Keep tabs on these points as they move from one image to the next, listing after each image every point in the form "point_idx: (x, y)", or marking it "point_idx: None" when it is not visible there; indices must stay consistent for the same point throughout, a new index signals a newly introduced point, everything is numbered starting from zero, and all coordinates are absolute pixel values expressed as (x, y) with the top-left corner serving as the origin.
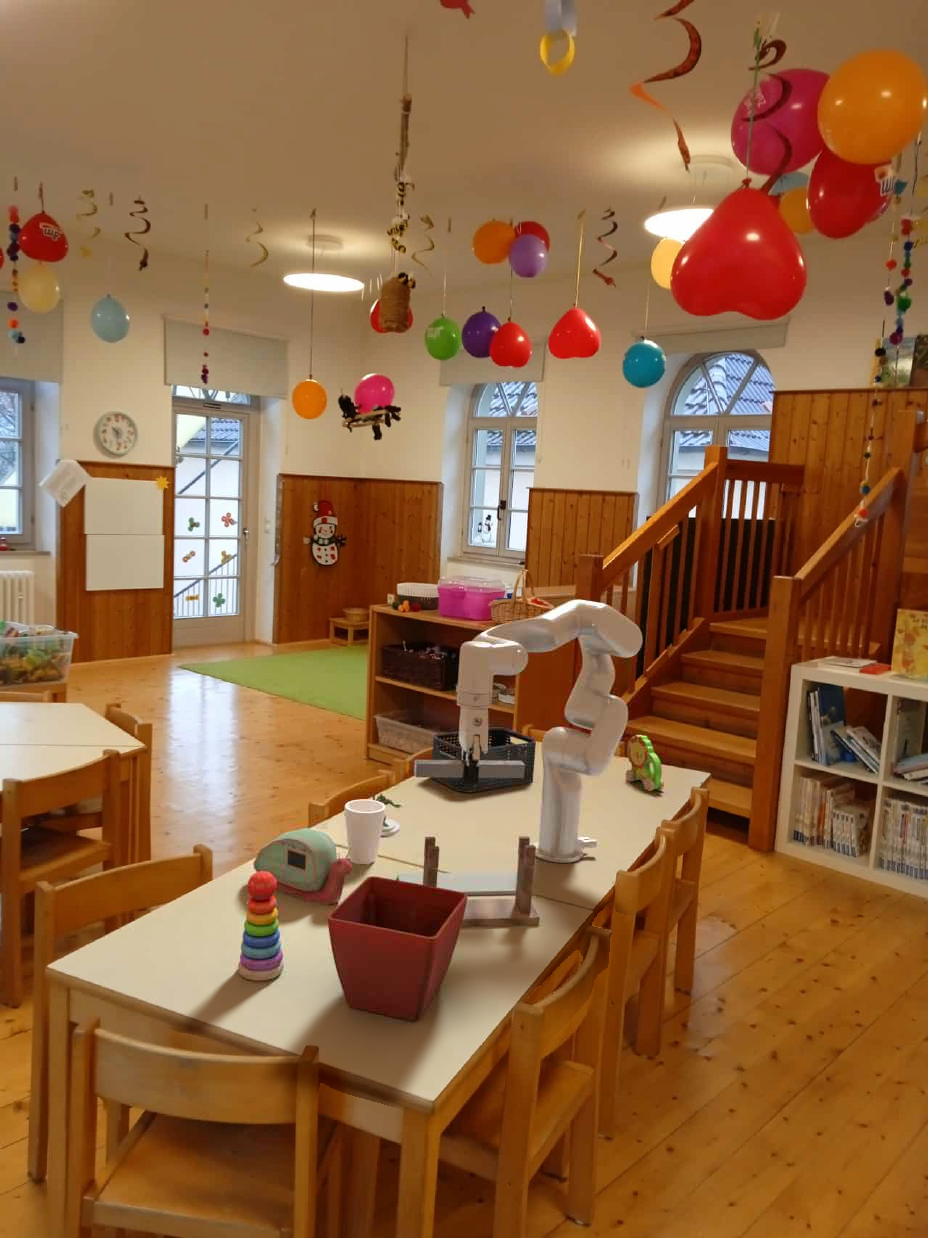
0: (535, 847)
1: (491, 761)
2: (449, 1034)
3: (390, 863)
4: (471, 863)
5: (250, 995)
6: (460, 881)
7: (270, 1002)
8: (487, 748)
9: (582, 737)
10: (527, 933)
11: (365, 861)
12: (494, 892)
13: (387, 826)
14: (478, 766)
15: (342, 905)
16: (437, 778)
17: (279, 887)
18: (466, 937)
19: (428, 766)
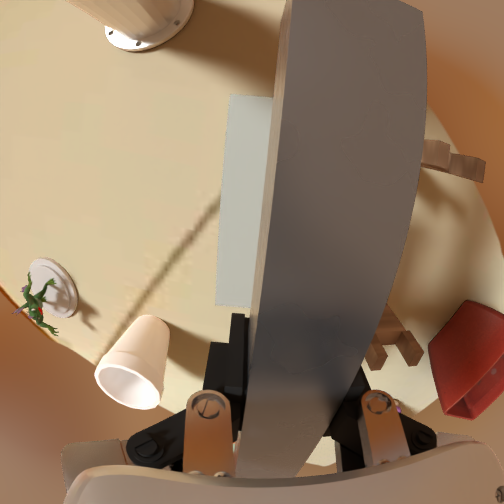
0: (485, 162)
1: (295, 292)
2: (498, 300)
3: (163, 300)
4: (166, 168)
5: (405, 406)
6: (258, 214)
7: (418, 397)
8: (498, 461)
9: None
10: (427, 170)
11: (169, 334)
12: None
13: (53, 279)
14: (381, 391)
15: (466, 417)
16: None
17: None
18: (414, 252)
19: None
